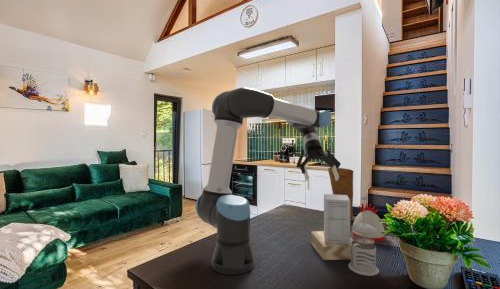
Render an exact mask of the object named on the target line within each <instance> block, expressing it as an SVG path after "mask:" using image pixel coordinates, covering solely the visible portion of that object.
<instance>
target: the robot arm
mask: <svg viewBox="0 0 500 289" xmlns="http://www.w3.org/2000/svg"><path fill="white" fill-rule="evenodd" d="M211 110H212V111H211V112H212V113H213V115H214V119H213V122H214V123H215V125H216V131H215V136H214V142H213V143H214V144H213V149H212V150H213V151H212V156H211V163H210V168H209V176H208V181H207V185H206V186H204V187H203V188H202V193H201V195H200V196H198V197H197V200H196V203H195V212H196V214H197V216H198V218H200V219H201V220H202V221H203V222H204V223H205V224H209V225H210V226H211V227H213V228H214V229H215V228H216V244H215V249H214V252H213V255H212V257H211V258H212V259H211V267H212V269H213V270H214V271H215V272H217V273H220V274H222V275H226V276H236V275H237V276H238V275H242V274H246V273H248V272H250V271H252V270H253V268H255V265H256V263H255V262H256V260H255V253H254V251H253V247H252V245H251V242H250V241H251V207H250V206H251V205H250V202H249V200H248V199H247V198H245V197H244V196H241V195H235V194H233V191H232V190H231V189H230V183H231V177H232V176H231V175H232V170H233V163H234V157H235V149H236V143H237V137H238V130H239V129H240V128H241V127H243V122H244V119H246V118H249V119H250V118H261V119H267V118H275V119H277V120H282V121H286V122H287V123H288V124H289V125H290V126H291V128H293V129H295V130H296V131H297V132H298V133H300V134H301V136H302V140H303V144H304V147H305V150H304V149H301V151H300V156H299V157H298V160H297V162H296V165H295V166H296V168H298V169H299V170H300V171H301V173H302V174H303V175H304V180H305V181H307V182H308V181H309V173H308V169H307V168H308V167H307V166H306V165H307V164H308V163H309V162H310V161H311V160H317V161H319V160H320V161H321V162H325V163H326V164H327V165H328V166H329V167H332V171H333V174H334V177H335V180H336V181H338V179H339V175H338V173H339V170H338V168H340V166H341V162H340V161H339V160H338V159H337V158H336V157H335V156H334V155H333V154H332V153H331V151H330V150H329V149H326V150H323V149H322V148H323V147H322V144H321V141H320V139H319V134H318V132H317V128H328V127H329V126H330V125H331V123H332V115H331V113H330V111H328V110H316V109H312V108H309V107H306V106H302V105H300V104H295V103H293V102H289V101H285V100H282V99H278V98H275V97H274V96H273V94H270V93H268V92H266V91H265V92H264V91H262V90H258V89H255V88H250V87H239V88H235V89H231V90H229V91H228V90H227V91H223V92H221V93H220V94H218V95H216V96H215V98H214V99H213V101H212V103H211ZM305 155H306V156H307V157H306V158H305V159H304V160H303V157H305ZM301 162H302V163H301Z"/></svg>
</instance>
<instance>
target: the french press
mask: <svg viewBox="0 0 500 289" xmlns="http://www.w3.org/2000/svg"><path fill="white" fill-rule="evenodd" d="M360 198H361V201H367V200H368V197H367V196H365V195H362V196H361V197H360ZM350 229H351V230H350V231H348V232H350V233H349V234H350V236H351V237H352V239H353V241H352V252H351V251H350V252H351V253H350V252H349V253H350V254H351V259H350V262H349V263H348V268H349V270H351V271H353V273H356V274H358V275H361V276H362V275H363V276H367V277H369V276H371V277H373V276H375V275H378V274H379V273H380V269H379V268H378V267H377V266H376V265H377V263H376V262H377V245H376V242H375V241H374V240H373V239H371V238H367V237H364V234H374V233H376V232H377V230H376V229H375V228H374V227H373V226H371V225H368V224H365V223H364V220H363V223H358V224H354V225H353V224H352V225H350ZM352 230H354V231H356V232H359V233H363V237H362V236H356V237H354V236H353V233H352ZM348 232H347V233H348ZM347 233H345V235H346V234H347ZM345 235H344V236H345ZM347 235H348V234H347ZM347 235H346V236H347ZM344 236H343V245H344V242H345V239H344ZM346 236H345V238H346ZM356 243H357V244H359V245H355V246H353V245H354V244H356ZM357 246H358V247H360V248H358V247H357ZM344 247H345V245H344ZM345 250H346V251H347V250H348V249H346V248H345ZM348 251H349V250H348ZM348 251H347V252H348ZM357 253H358V254H357Z"/></svg>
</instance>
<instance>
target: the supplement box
mask: <svg viewBox="0 0 500 289" xmlns="http://www.w3.org/2000/svg"><path fill="white" fill-rule="evenodd" d="M323 231H324V239H325V242H326V243H338V244H343V236H344V235H345V233H347V232H348V231H351V220H350V199H349V198H348V196H347V195H333V193H332V194H330V193H327V194H326V193H324V194H323ZM349 233H351V232H348V233H347V234H348V235H347V234H346V235H347V236H346V235H345V236H346V238H345V236H344V239H345V242H344V244H349V245H350V237H351V234H349Z"/></svg>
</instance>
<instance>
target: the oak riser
mask: <svg viewBox="0 0 500 289" xmlns="http://www.w3.org/2000/svg"><path fill="white" fill-rule="evenodd" d="M352 241H353V237H352V236H350V245H349V244H344V245H345V247H344V245H343V244H338V243H326V242H325V239H324V230H321V231H319V230H318V231H317V230H316V231H315V230H313V231H310V244H311V245H312V246H313V248H314V249H315V251H316V253H317V254H318V255H319V256H320V257H321V259H322V260H323V261H336V260H351V254H350V253H351V252H352ZM355 245H360V244H357V243H356V244H354V245H353V246H355ZM357 247H358V246H357ZM345 248H346V249H348V250H349V251H348V250H347V251H348V252H347V251H346V250H345ZM358 248H361V247H358ZM350 251H351V252H350ZM349 252H350V253H349ZM357 254H358V253H357Z"/></svg>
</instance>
